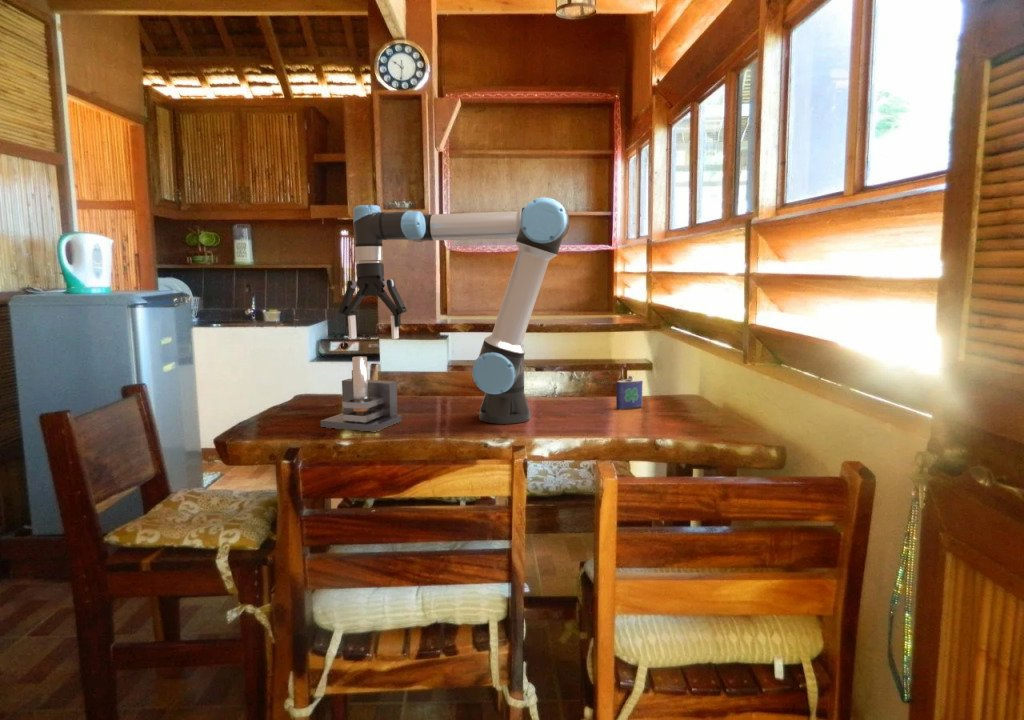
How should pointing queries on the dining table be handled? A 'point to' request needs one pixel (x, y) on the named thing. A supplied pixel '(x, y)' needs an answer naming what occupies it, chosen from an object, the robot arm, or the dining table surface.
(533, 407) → the dining table surface
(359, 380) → the tube
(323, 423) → the grey slotted rack
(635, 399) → the flask
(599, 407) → the dining table surface
